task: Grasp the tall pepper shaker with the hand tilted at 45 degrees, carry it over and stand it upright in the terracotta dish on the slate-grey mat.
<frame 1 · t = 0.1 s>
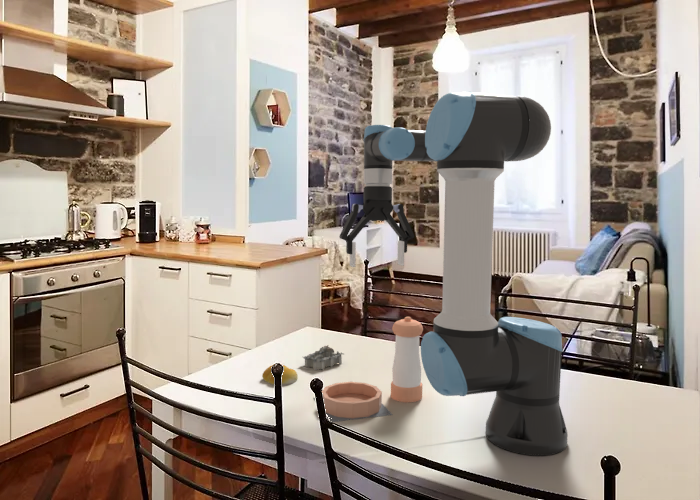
hand: (376, 265, 147), 28 cm above the table, tool pointing down, fingers open, 13 cm apart
pepper shaker: (406, 398, 128), on the table
egg carton: (323, 365, 153), on the table
bread roll: (280, 382, 139), on the table
dish: (351, 406, 122), resting on mat
mat: (351, 407, 122), on the table
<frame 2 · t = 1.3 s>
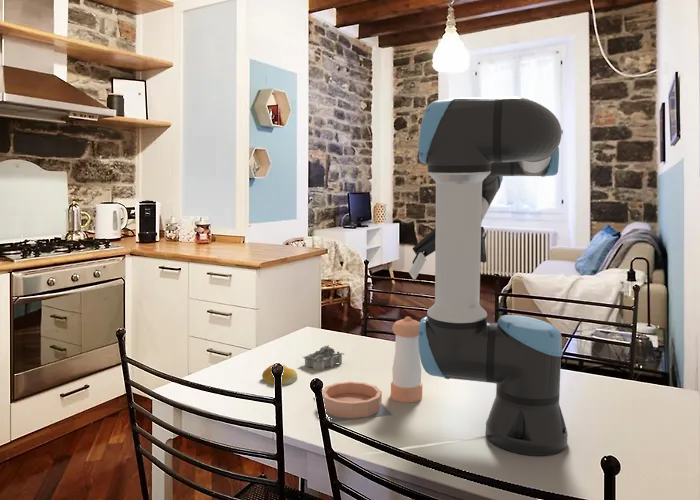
hand: (434, 279, 133), 27 cm above the table, tool tilted 45°, fingers open, 13 cm apart
nothing on the table moved.
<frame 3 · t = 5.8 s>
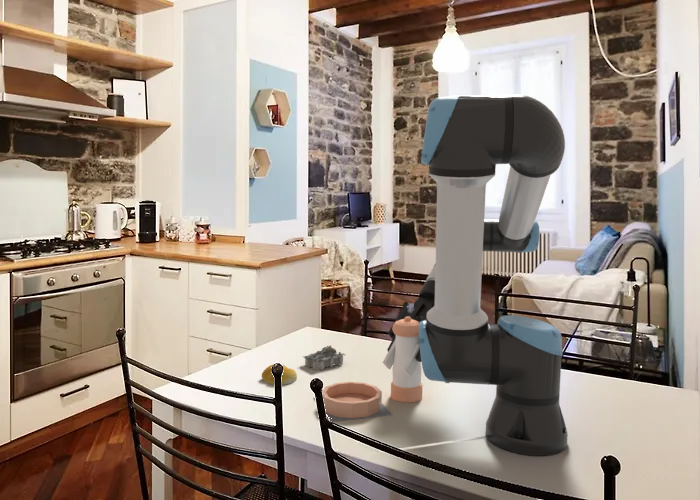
hand: (397, 368, 124), 8 cm above the table, tool tilted 45°, fingers closed on pepper shaker, 5 cm apart
pepper shaker: (406, 398, 128), on the table, touching gripper
everything else where it was.
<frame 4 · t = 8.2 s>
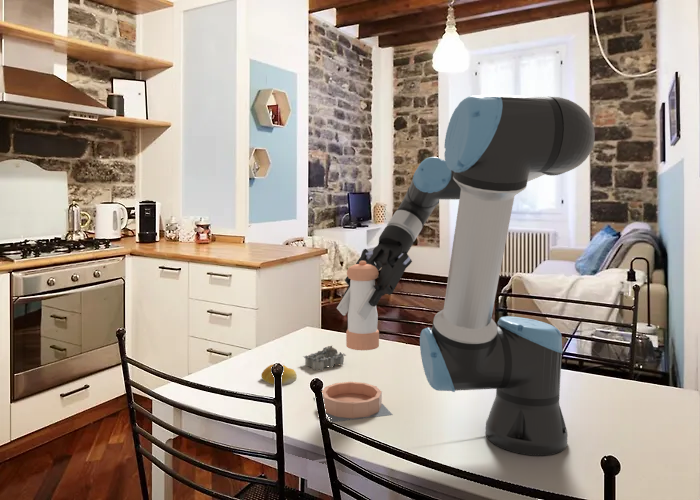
hand: (350, 313, 120), 21 cm above the table, tool tilted 45°, fingers closed on pepper shaker, 5 cm apart
pepper shaker: (362, 346, 123), point 13 cm above the table, touching gripper
everything else where it was.
when the fingers open (10 cm above the table, at t = 10.8 s): pepper shaker drops 1 cm, resting on dish.
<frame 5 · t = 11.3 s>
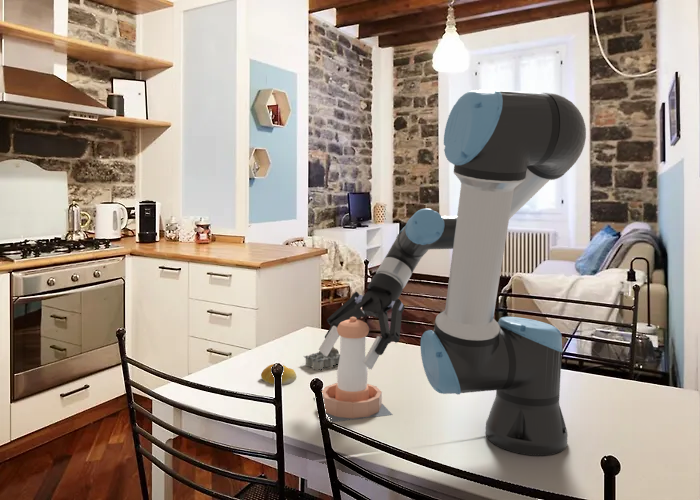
hand: (344, 359, 119), 12 cm above the table, tool tilted 45°, fingers open, 12 cm apart
pepper shaker: (351, 403, 122), point 1 cm above the table, touching dish
everything else where it was.
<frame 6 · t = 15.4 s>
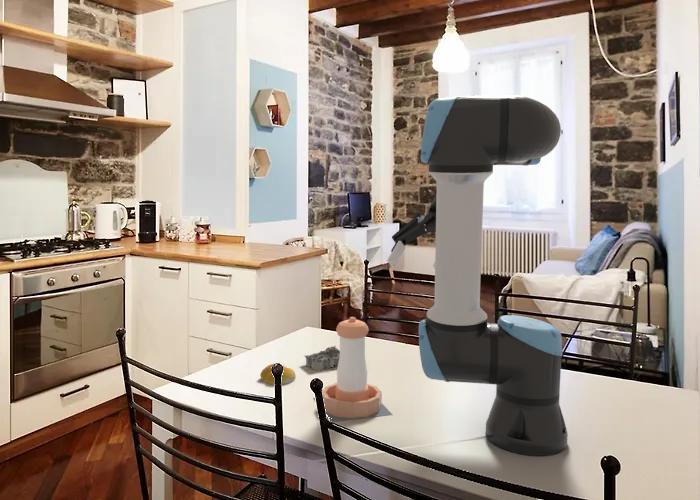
hand: (412, 266, 132), 30 cm above the table, tool tilted 45°, fingers open, 13 cm apart
nothing on the table moved.
at the end: pepper shaker 0.1 cm from the dish (horizontally); pepper shaker tilted 0°; the gripper is holding nothing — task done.
